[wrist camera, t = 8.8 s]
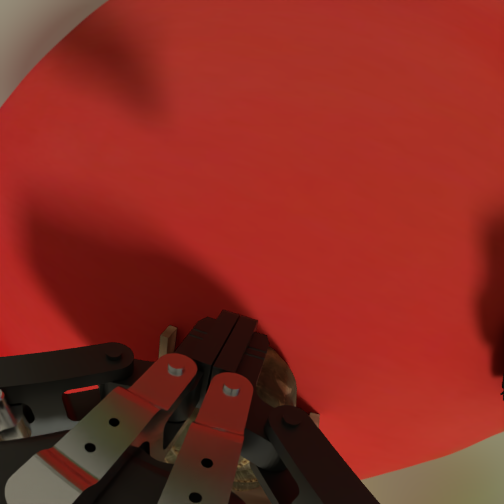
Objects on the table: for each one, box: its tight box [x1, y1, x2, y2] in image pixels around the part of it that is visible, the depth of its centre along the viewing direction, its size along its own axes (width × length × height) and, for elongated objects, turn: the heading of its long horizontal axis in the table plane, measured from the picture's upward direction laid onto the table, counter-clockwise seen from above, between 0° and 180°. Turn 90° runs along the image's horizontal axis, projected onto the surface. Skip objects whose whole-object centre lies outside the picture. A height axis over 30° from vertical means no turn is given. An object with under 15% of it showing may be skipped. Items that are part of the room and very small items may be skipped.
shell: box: [165, 347, 297, 491], centre depth 23 cm, size 11×11×12 cm
